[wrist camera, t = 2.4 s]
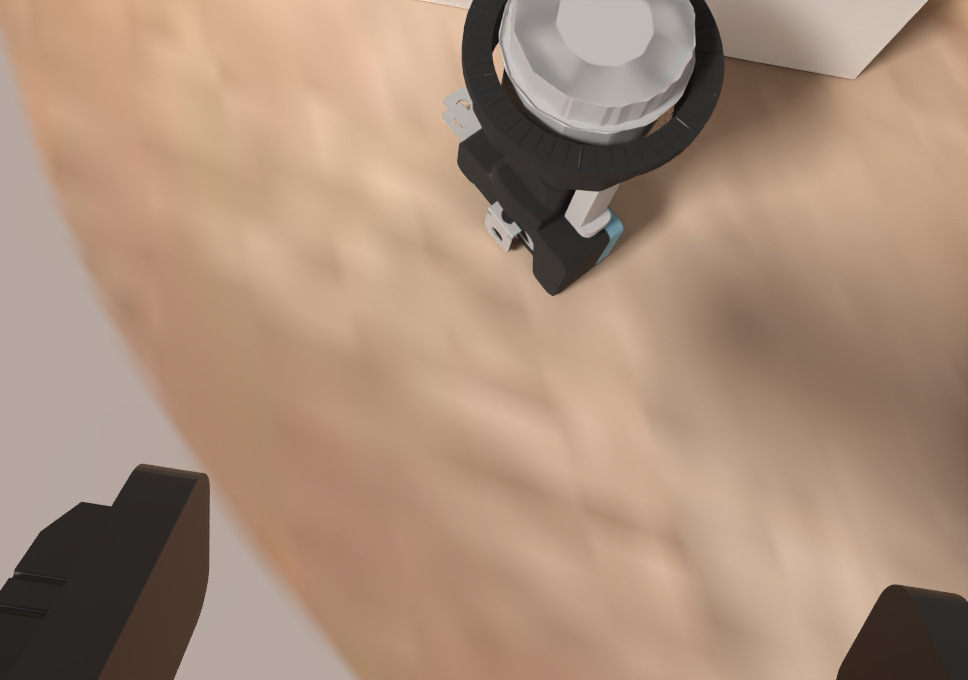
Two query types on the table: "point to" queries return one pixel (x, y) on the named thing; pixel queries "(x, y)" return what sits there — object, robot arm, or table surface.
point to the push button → (577, 114)
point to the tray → (804, 31)
